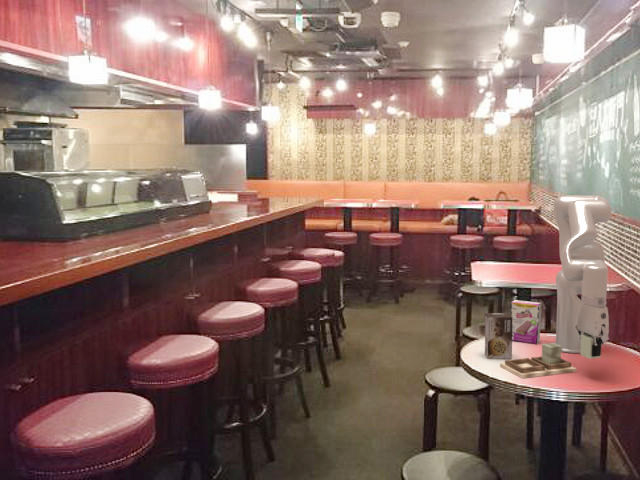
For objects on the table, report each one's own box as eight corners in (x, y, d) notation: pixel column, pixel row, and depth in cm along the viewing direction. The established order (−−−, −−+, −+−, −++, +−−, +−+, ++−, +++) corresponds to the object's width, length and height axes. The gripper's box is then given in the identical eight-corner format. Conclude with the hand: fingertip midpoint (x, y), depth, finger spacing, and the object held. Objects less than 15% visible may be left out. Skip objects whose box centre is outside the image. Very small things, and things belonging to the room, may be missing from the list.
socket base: (551, 360, 225) (552, 338, 224) (576, 371, 213) (577, 348, 212) (500, 366, 219) (500, 344, 218) (522, 378, 206) (523, 354, 206)
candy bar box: (509, 341, 251) (510, 301, 249) (512, 338, 255) (513, 299, 253) (537, 344, 245) (539, 304, 243) (540, 341, 250) (541, 302, 248)
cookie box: (508, 354, 233) (509, 312, 231) (512, 359, 227) (513, 316, 225) (484, 353, 234) (485, 312, 232) (486, 358, 228) (488, 316, 226)
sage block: (590, 353, 210) (592, 333, 209) (600, 357, 205) (601, 337, 204) (580, 354, 208) (581, 334, 207) (589, 358, 204) (590, 338, 203)
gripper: (622, 306, 197) (618, 360, 200) (584, 294, 213) (582, 344, 216) (602, 308, 195) (599, 363, 198) (566, 296, 211) (564, 347, 214)
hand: (590, 353), depth 207 cm, fingers closed on sage block, 4 cm apart
